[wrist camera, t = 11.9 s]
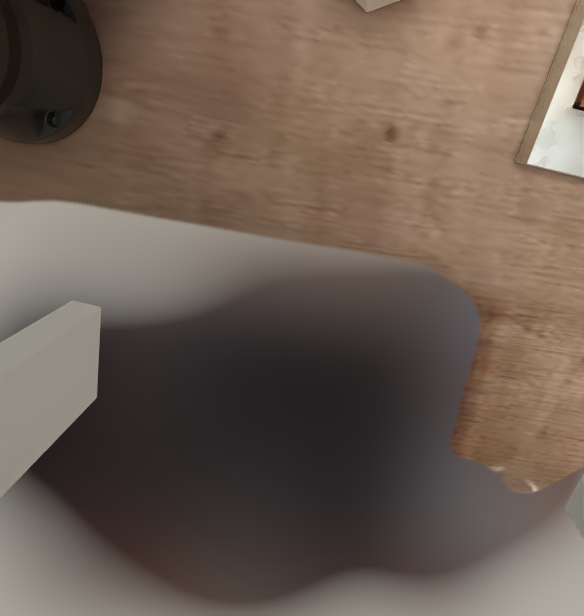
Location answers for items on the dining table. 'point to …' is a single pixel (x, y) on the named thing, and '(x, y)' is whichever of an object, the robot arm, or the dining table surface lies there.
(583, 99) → the tan notched block
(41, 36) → the robot arm
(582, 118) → the grey slotted block
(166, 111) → the dining table surface
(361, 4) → the jar
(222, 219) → the dining table surface
